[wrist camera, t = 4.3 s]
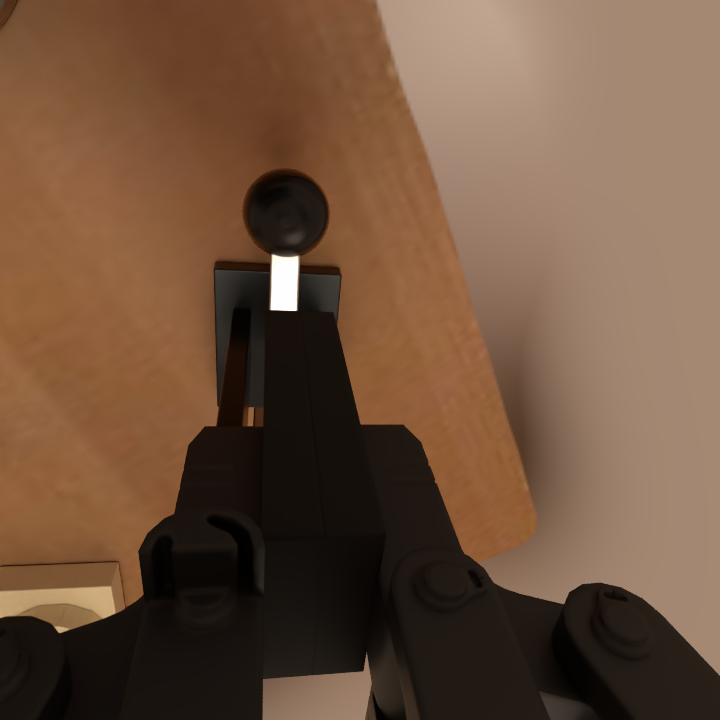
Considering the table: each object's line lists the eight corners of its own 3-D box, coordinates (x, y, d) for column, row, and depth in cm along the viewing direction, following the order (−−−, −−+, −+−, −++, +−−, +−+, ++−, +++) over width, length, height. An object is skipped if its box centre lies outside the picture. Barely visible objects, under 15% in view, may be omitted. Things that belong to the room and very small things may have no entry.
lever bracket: (215, 261, 31) (185, 379, 20) (339, 267, 32) (375, 382, 21) (218, 396, 35) (195, 555, 24) (328, 397, 36) (353, 549, 25)
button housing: (-1, 566, 40) (-27, 615, 36) (118, 561, 41) (104, 608, 37) (25, 653, 44) (5, 704, 41) (131, 646, 46) (120, 695, 42)
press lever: (244, 162, 21) (240, 167, 18) (328, 168, 22) (336, 175, 19) (242, 455, 26) (239, 497, 23) (311, 455, 26) (316, 495, 24)
